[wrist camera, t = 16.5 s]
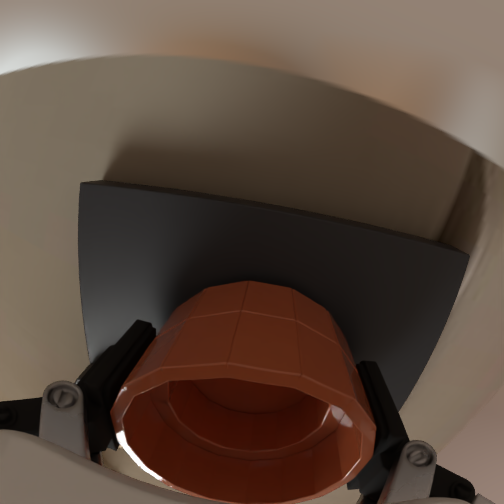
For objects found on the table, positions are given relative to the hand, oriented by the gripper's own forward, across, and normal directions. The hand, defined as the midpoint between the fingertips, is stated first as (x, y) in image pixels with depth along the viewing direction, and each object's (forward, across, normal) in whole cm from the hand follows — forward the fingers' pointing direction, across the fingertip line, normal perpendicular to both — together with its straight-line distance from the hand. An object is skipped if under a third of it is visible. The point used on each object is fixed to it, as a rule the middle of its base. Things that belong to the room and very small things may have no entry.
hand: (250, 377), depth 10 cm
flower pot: (+1, 0, 0) cm, 1 cm away
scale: (+3, 0, 0) cm, 3 cm away
